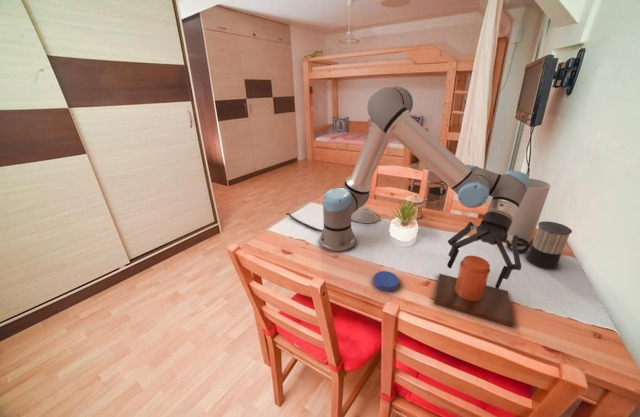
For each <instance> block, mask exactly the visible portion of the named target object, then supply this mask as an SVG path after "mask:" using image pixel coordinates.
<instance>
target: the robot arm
mask: <svg viewBox="0 0 640 417" xmlns="http://www.w3.org/2000/svg"><path fill="white" fill-rule="evenodd" d="M413 107H414V98H413V95H412V93H411V92H410V90H408V88H407V89H406V88H405V87H403V86H399V85H394V86H383V87H380V88H377V89H376V90H375V91H373V93H372V94H371V95H370V96H369V98H368V101H367V109H366V110H367V114H368V116H369V120H370V123H371V127H370V129H369V131H368V134H367V136H366V138H365V140H364V144H363V146H362V148H361V151H360V153H359V155H358V158H357V159H356V163H355V165H354V168H353V170H352V173H351V175H349V176H347V177H346V178H345V180H344V183H343V184H342V187H334V188H331V189H329V190H327V191H325V193H324V194H323V197H322V199H323V200H322V211H323V214H322V215H323V228H322V229H319V228H317V227H313V226H311V225H309V224H307V223H305V222H303V221H301V220H299V219H297V218H296V217H294V216H292V214H291V213H289V212H286V213H285V215H286V216H289V217H290V218H291V219H292V220H294V221H295V222H297V223H299V224H301V225H303V226H305V227H307V228H310V229H312V230H315V231H317V232H321V234H320V238H319V243H320V246H321V247H322V248H323V249H325V250H327V251H330V252H345V251H348V250H350V249H352V248H353V247H354V246H355V244H356V238H355V237H356V236H355V234H354V231H353V229H352V220H351V215H352V214H353V213H354V212H355V211H357V210H358V209H359V208H360V207H362V206H363V205H364V206H365V205H366V203H367V202H368V200H369V198H370V191H371V185H370V183H371V180H372V179H373V177H374V175H375V172H376V170H377V169H378V166H379V164H380V161H381V159H382V158H383V155H384V153H385V151H386V149H387V147H388V145H389V143H390V140H391V138H392V137H394V138H395V139H396V140H397V141H398V142H399V143H401V144H402V146H404V147H405V148H406V149H407V150H408V151H409V152H410V153H411V154H413V156H415V157H416V158H417V159H418V160H419V161H420V162H421V163H422V164H423V165H425V167H427V168H428V169H429V170H430V171H431V172H432V173H434V175H436V176H437V177H438V178H439V179H440V180H441V181H442V182H443V183H444V184H446V185H447V186H448V187H449V188H450V189H451V190H452V191H453V192H454V193H455V194H456V195H457V199H458V201H459V203H460V204H461V205H462V206H464V207H466V208H469V209H476V208H479V207H481V206H483V205H484V204H485V203H486V202H487V200H488V198H489V197H492V198H491V201H490V203H489V205H488V206H487V209H486V212H485V213H484V215H483V218H482V220H481V221H480V224H478V225H477V224H475V223H473V221H468V222H467V224H466V226H465V227H464V228H463V229H462V230H460V231H458V232H457V233H456V234H455V235H453V236H451V238H449V239H448V240H447V244H448V245H449V246H451V248H450V250H449V252H448V257H449V260H448V262H447V264H446V266H447V268H449V269H452V267H453V265H454V262H455V261H456V259H457V257H458V254H459V252H460V248H463V247H465V246H468V245H469V244H472V243H474V242H478V241H481V242H483V243H488V244H489V245H491V246H495V245H496V246H497V249H498V250H499V252H500V254H501V256H502V259H503V260H504V263H505V265H503V267H502V269H501V272H500V274H499V276H498V277H497V278H498V279H497V281H496V283H495V285H494V288H498V289H500V287H501V284H502V283H503V280H504V279H505V280H508V279H509V278H510V276H511V274H512V271H515V270H516V271H521V270H522V262H521V259H520V258H521V257H520V252H518V249H519V247H518V244H517V243H518V236H516V235H515V236H510V235H507V233H508V231H509V228H510V226H511V224H512V220H513V219H514V217H515V215H516V213H517V211H518V208H519V205H520V203H521V201H522V199H523V197H524V195H525V193H526V191H527V188H528V185H529V182H530V179H531V178H530V176H529V175H528V174H526V173H525V172H522V171H519V170H516V171H515V170H507V171H505V172H504V173H503V174H500V173H497V172H495V171H494V172H493V171H491V170H488V169H484V168H483V167H482V168H481V167H479V166H477V165H471V164H465V163H464V162H463V161H462V160H461V159H459V157H457V156H456V155H455V154H454V153H453V152H452V151H450V150H449V149H448V148H447V147H445V145H444V144H443V143H441V142H440V141H439V140H438V139H437V138H435V136H433V135H432V134H431V133H430V132H429V131H427V130H426V128H424V127H423V126H422V125H421V124H420V123H419V122H418V121H417V120H415V119H414V118H413V117H411V115H410V114H411V112H412V110H413ZM529 178H530V179H529ZM474 230H476V233H473V234H472V235H470V236H468V237H466V238H464V237H465V236H467V235H468V234H469V233H471V232H473V231H474ZM506 239H508V240H509V242H510V244H511V243H512V250H513V251H512V250H511V251H512V255H513V260H514V263H513V262H512V260H511V259H510V257H509V254H508V252H507V249H506V248H505V246H504V244H503V242H505V241H506Z"/></svg>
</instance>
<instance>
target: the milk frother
mask: <svg viewBox="0 0 640 417" xmlns="http://www.w3.org/2000/svg"><path fill="white" fill-rule="evenodd" d="M537 226H538V227H537V230H536V233H535V236H534V239H533V240H532V241H533V242H532V243H531V244H530V242H529V243H528V242H527V241H526V240H525V239H522V238H518V241H519V242H522V243H524V244H523V245H524V248H518V252H519V253H525V252H527V251H528V250H529V249H530V250H529V251H528V254H527V255H526V259H527V261H528V262H529V263H530V264H532V265H534V266H537V267H540V268H542V269H549V270H553V269H557V268H558V266H559V261H560V259H561V257H562V254H563V252H564V249H565V247H566V245H567V242H568V239H569V237H570V235H571V234H572V233H573V229H571V228H570V227H569V226H567V225H564V224H562V223H558V222H554V221H547V220H546V221H545V220H544V221H539V222H538V223H537ZM505 245H506V247H507V248H508V249H509V250H510V251H512V252H513V250H512V243H510V242H509V240H508V241H506V244H505Z"/></svg>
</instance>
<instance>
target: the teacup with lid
mask: <svg viewBox="0 0 640 417" xmlns="http://www.w3.org/2000/svg"><path fill="white" fill-rule="evenodd" d="M405 201H411V202H413V203H414V204H415V206H416V207H417V208H418V214H417V217H416V219H420V218H421V217H422V213H423V207H424V201H425V200H424V198H423V197H421V196H419V195H418V194H416V193H413V194H412V195H408V196H405V198H404V202H405Z"/></svg>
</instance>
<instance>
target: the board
mask: <svg viewBox="0 0 640 417" xmlns="http://www.w3.org/2000/svg"><path fill="white" fill-rule="evenodd" d="M456 281H457V277H455V276H451V275H447V274H443V273H439V274H438V281H437V285H436V290H435V297H434V304H435V305H438V306H442V307H444V308H448V309H452V310H455V311H458V312H461V313H465V314H468V315H471V316H474V317H478V318H481V319H484V320H488V321H491V322H494V323H497V324H501V325H504V326H507V327H513V325H514V320H513V313H512V307H511V302H510V294H509V291H508V290H505V289H502V288H499V289H498V288H496V287H495V286H490V285H486V287H485V290H484V294H483V297H482V299H481V300H479V301H470V300H466V299H464V298H462V297H460V296H459V295H458V294H457V293H456V291H455V285H456Z"/></svg>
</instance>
